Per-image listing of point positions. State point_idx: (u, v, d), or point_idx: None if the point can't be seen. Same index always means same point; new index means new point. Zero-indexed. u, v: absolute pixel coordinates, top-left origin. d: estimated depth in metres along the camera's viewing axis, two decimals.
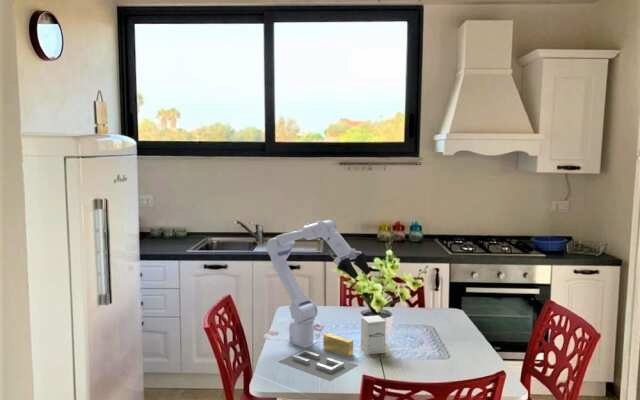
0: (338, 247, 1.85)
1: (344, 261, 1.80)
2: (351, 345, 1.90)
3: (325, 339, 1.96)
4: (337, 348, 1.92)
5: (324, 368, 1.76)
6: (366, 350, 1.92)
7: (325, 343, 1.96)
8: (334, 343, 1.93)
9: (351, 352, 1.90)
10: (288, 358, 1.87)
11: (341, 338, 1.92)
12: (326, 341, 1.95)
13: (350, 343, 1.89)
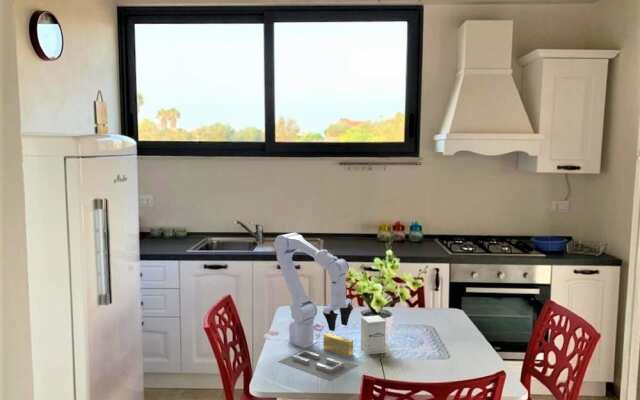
0: (336, 296, 1.89)
1: (331, 316, 1.86)
2: (351, 345, 1.90)
3: (325, 339, 1.96)
4: (337, 348, 1.92)
5: (324, 368, 1.76)
6: (366, 350, 1.92)
7: (325, 342, 1.96)
8: (334, 343, 1.93)
9: (351, 352, 1.90)
10: (288, 358, 1.87)
11: (341, 338, 1.92)
12: (326, 341, 1.95)
13: (350, 343, 1.89)
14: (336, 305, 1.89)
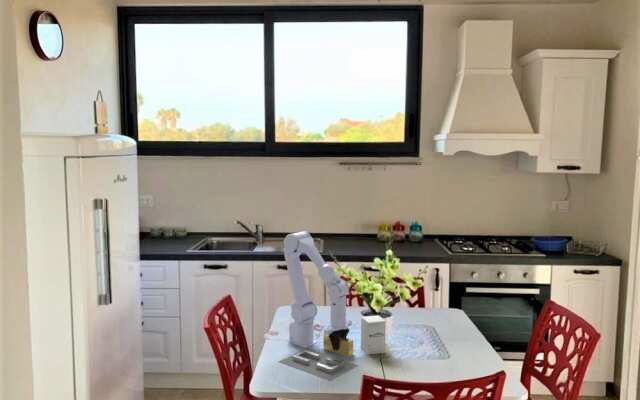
0: (336, 317, 1.90)
1: (335, 336, 1.89)
2: (351, 345, 1.90)
3: (325, 339, 1.95)
4: None
5: (324, 368, 1.76)
6: (366, 350, 1.92)
7: (325, 342, 1.96)
8: None
9: (351, 352, 1.90)
10: (288, 358, 1.87)
11: (341, 338, 1.92)
12: (326, 341, 1.95)
13: (350, 343, 1.89)
14: (336, 326, 1.90)
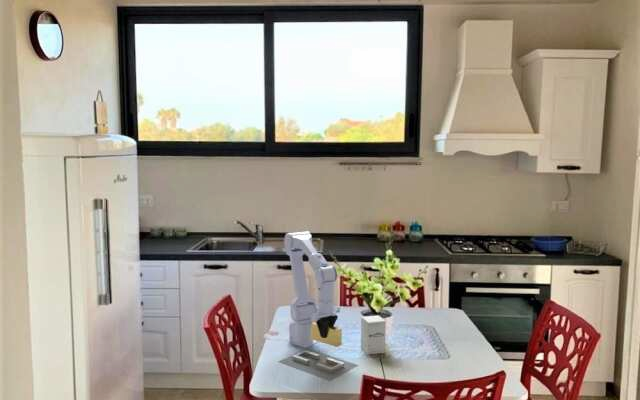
0: (323, 303, 1.82)
1: (323, 322, 1.82)
2: (340, 333, 1.82)
3: (313, 328, 1.88)
4: None
5: (324, 368, 1.76)
6: (366, 350, 1.92)
7: (313, 331, 1.88)
8: None
9: (340, 341, 1.83)
10: (288, 358, 1.87)
11: (329, 326, 1.85)
12: (314, 330, 1.88)
13: (338, 331, 1.82)
14: (324, 313, 1.82)
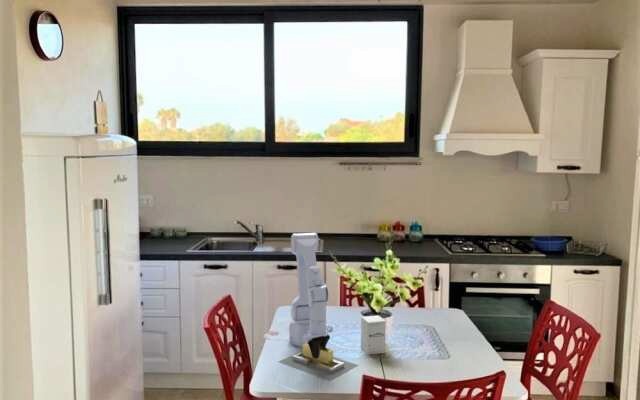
0: (315, 324, 1.79)
1: (314, 343, 1.78)
2: (331, 355, 1.79)
3: (304, 348, 1.85)
4: (317, 358, 1.81)
5: (324, 368, 1.76)
6: (366, 350, 1.92)
7: (304, 352, 1.85)
8: None
9: (331, 362, 1.79)
10: (288, 358, 1.87)
11: (321, 347, 1.82)
12: (305, 351, 1.85)
13: (330, 353, 1.79)
14: (315, 333, 1.79)
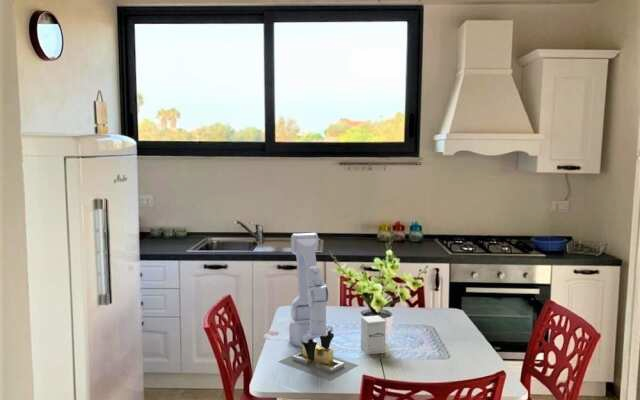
0: (315, 324, 1.79)
1: (310, 345, 1.77)
2: (331, 355, 1.79)
3: (304, 348, 1.85)
4: (317, 358, 1.81)
5: (324, 368, 1.76)
6: (366, 350, 1.92)
7: (304, 352, 1.85)
8: None
9: (331, 362, 1.79)
10: (288, 358, 1.87)
11: (321, 347, 1.82)
12: (305, 351, 1.85)
13: (330, 353, 1.79)
14: (315, 333, 1.79)
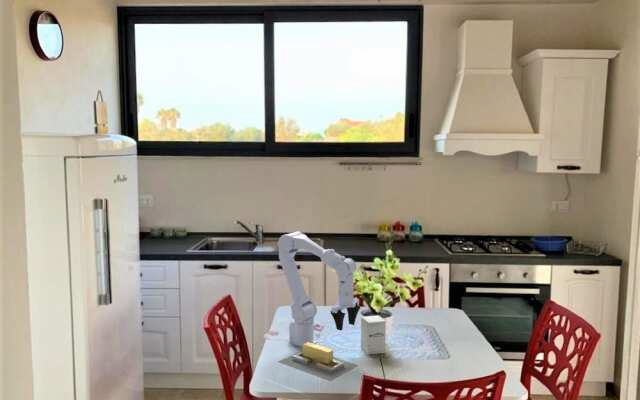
0: (343, 295, 1.89)
1: (339, 315, 1.87)
2: (331, 355, 1.79)
3: (304, 348, 1.85)
4: (317, 358, 1.81)
5: (324, 368, 1.76)
6: (366, 350, 1.92)
7: (304, 352, 1.85)
8: (313, 352, 1.82)
9: (331, 362, 1.79)
10: (288, 358, 1.87)
11: (321, 347, 1.82)
12: (305, 351, 1.85)
13: (330, 353, 1.79)
14: (344, 304, 1.89)
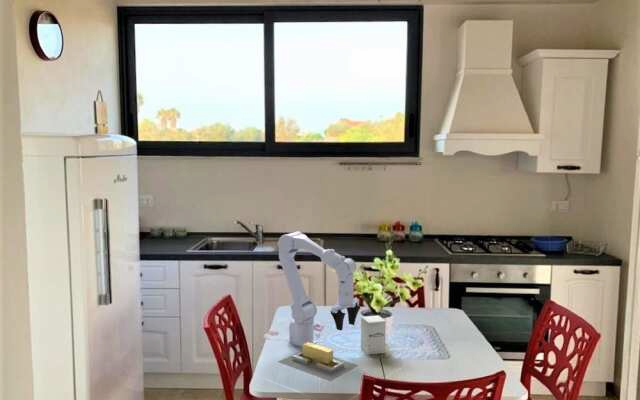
0: (343, 295, 1.89)
1: (339, 315, 1.87)
2: (331, 355, 1.79)
3: (304, 348, 1.85)
4: (317, 358, 1.81)
5: (324, 368, 1.76)
6: (366, 350, 1.92)
7: (304, 352, 1.85)
8: (313, 352, 1.82)
9: (331, 362, 1.79)
10: (288, 358, 1.87)
11: (321, 347, 1.82)
12: (305, 351, 1.85)
13: (330, 353, 1.79)
14: (344, 304, 1.89)
